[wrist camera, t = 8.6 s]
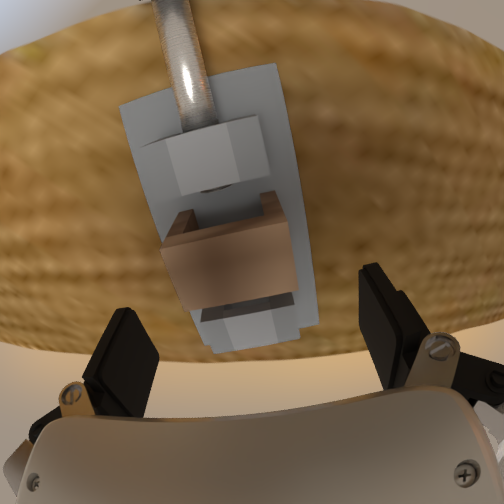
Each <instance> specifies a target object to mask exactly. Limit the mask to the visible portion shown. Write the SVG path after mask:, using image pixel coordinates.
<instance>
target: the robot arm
mask: <svg viewBox="0 0 504 504" xmlns="http://www.w3.org/2000/svg"><path fill="white" fill-rule="evenodd" d="M359 326H360V330H361V332H362V335H363V337H364V340H365V342H366V345H367V347H368V350H369V352H370V355H371V357H372V360H373V363H374V365H375V368H376V370H377V373H378V376H379V378H380V381H381V384H382V387H383V389H384V390H383V391H379V392H374V393H370V394H365V395H361V396H357V397H353V398H348V399H343V400H339V401H333V402H328V403H323V404H318V405H312V406H307V407H301V408H295V409H288V410H281V411H274V412H266V413H257V414H247V415H236V416H223V417H205V418H143V416H144V413H145V409H146V405H147V401H148V398H149V394H150V390H151V387H152V383H153V380H154V376H155V373H156V369H157V366H158V362H159V353H158V351H157V350H156V348H155V346H154V345H153V343H152V341H151V339H150V338H149V336H148V334H147V332H146V331H145V329H144V327H143V325H142V323H141V321H140V320H139V318H138V316H137V314H136V312H135V311H134V310H132V309H131V308H129V307H125V308H118V309H116V311H115V312H114V314H113V316H112V318H111V320H110V322H109V324H108V325H107V327H106V329H105V331H104V333H103V335H102V337H101V339H100V341H99V343H98V345H97V347H96V349H95V351H94V353H93V355H92V357H91V359H90V361H89V363H88V365H87V367H86V369H85V371H84V373H83V376H82V378H83V379H84V380H85V381H84V384H83V383H81V382H77V381H76V382H72V383H70V384H68V385H67V386H65V387H64V388H63V390H62V391H61V393H60V395H59V405H60V406H58V407H57V408H55V409H54V410H52V411H51V412H49V413H48V414H46V415H45V416H43V417H42V418H40V419H39V420H37V421H36V422H35V423H34V424H32V426H31V428H30V430H29V440H27V439H25V440H24V442H23V443H22V444H21V445H20V446H19V447H18V448H17V449H16V450H15V452H14V453H13V454H12V455H11V456H10V457H9V458H8V459H7V461H6V462H5V464H4V467H3V472H4V475H5V477H6V479H7V481H8V483H9V485H10V486H11V488H12V490H13V492H14V493H15V495H16V497H17V499H16V503H15V504H504V365H502V364H499V363H496V362H492V361H489V360H486V359H482V358H479V357H476V356H473V355H469V354H466V353H463V352H460V345H459V342H458V341H457V340H456V338H455V337H453V336H452V335H450V334H447V333H444V332H436V333H432V334H431V333H430V331H429V330H428V328H427V326H426V325H425V323H424V322H423V320H422V318H421V317H420V315H419V314H418V312H417V311H416V309H415V308H414V306H413V305H412V303H411V302H410V300H409V299H408V297H407V296H406V294H405V293H404V292H403V291H402V290H399V291H396V289H395V288H394V286H393V285H392V283H391V282H390V280H389V279H388V277H387V276H386V274H385V273H384V271H383V270H382V268H381V267H380V266H379V264H378V263H377V262H376V263H371V264H366V265H363V269H361V270H359ZM483 425H484V426H485V427H487V428H488V429H490V430H489V433H490V434H492V435H493V436H494V437H495V438H496V439H497V442H498V445H499V446H498V452H497V454H496V456H495V453H494V450H493V448H492V445H491V443H490V441H489V438H488V436H487V434H486V431H485V429H484V427H483ZM456 467H457V468H456Z"/></svg>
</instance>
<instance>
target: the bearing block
mask: <svg viewBox="0 0 504 504" xmlns="http://www.w3.org/2000/svg"><path fill="white" fill-rule="evenodd" d="M208 81H209V85H210V89H211V94H212V98H213V102H214V106H215V110H216V114H217V118H218V122H219V124H216V125H212V126H208V127H205V128H201V129H197V130H193V131H190V132H186V133H183V131H182V127H181V123H180V119H179V115H178V112H177V108H176V104H175V100H174V96H173V92H172V88H168V89H164V90H161V91H158V92H156V93H153V94H150V95H147V96H144V97H141V98H139V99H136V100H133V101H131V102H128V103H126V104H123V105H121V106H119V109H120V113H121V117H122V121H123V124H124V128H125V132H126V135H127V139H128V142H129V146H130V149H131V152H132V156H133V159H134V162H135V166H136V169H137V172H138V175H139V178H140V181H141V184H142V188H143V191H144V194H145V197H146V200H147V203H148V205H149V208H150V211H151V214H152V217H153V220H154V223H155V225H156V228H157V231H158V234H159V236H160V239H161V242H162V243H163V241H164V239H165V237H166V235H167V234H168V232H169V230H170V228H171V226H172V224H173V222H174V220H175V218H176V217H177V215H178V213H179V212H182V211H186V210H190V209H193V210H194V213H195V216H196V220H197V223H198V226H199V229H205V228H209V227H213V226H218V225H222V224H227V223H231V222H236V221H240V220H245V219H250V218H254V217H259V216H264V212H263V208H262V203H261V198H260V193H264V192H269V191H274V190H275V192H276V194H277V197H278V199H279V202H280V204H281V206H282V209H283V211H284V214H285V216H286V219H287V221H288V227H289V232H290V238H291V244H292V250H293V256H294V262H295V268H296V274H297V281H298V287H299V290H297V291H292V292H287V293H283V294H278V295H273V296H268V297H263V298H258V299H253V300H248V301H242V302H237V303H232V304H226V305H221V306H215V307H210V308H204V309H198V310H192V311H190V314H191V316H192V318H193V321H194V323H195V325H196V327H197V330H198V332H199V334H200V336H201V338H202V341H203V343H204V345H210V346H211V348H212V351H213V353H214V354H216V353H223V352H230V351H236V350H242V349H248V348H254V347H259V346H265V345H270V344H275V343H280V342H285V341H290V340H295V339H300V333H299V329H300V328H304V327H309V326H313V325H318V324H319V315H318V306H317V297H316V288H315V279H314V271H313V263H312V256H311V248H310V241H309V234H308V227H307V221H306V214H305V208H304V201H303V195H302V189H301V183H300V177H299V172H298V166H297V161H296V155H295V150H294V145H293V139H292V134H291V129H290V124H289V119H288V115H287V110H286V105H285V100H284V96H283V91H282V87H281V82H280V78H279V74H278V70H277V65H276V63H272V64H266V65H260V66H254V67H249V68H244V69H239V70H234V71H230V72H225V73H221V74H217V75H213V76H209V77H208ZM229 184H232V185H231V186H229V187H227V188H225V189H222V190H219V191H215V192H211V193H200V191H204V190H208V189H212V188H216V187H220V186H224V185H229Z"/></svg>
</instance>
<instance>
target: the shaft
mask: <svg viewBox="0 0 504 504" xmlns="http://www.w3.org/2000/svg"><path fill="white" fill-rule="evenodd" d="M140 1H141V0H140ZM151 1H152V6H153V11H154V15H155V20H156V25H157V29H158V33H159V38H160V42H161V47H162V51H163V55H164V59H165V63H166V68H167V72H168V76H169V80H170V84H171V88H172V92H173V96H174V100H175V104H176V108H177V112H178V115H179V119H180V123H181V127H182V131H183V133H186V132H190V131H193V130H197V129H201V128H205V127H208V126H212V125H216V124H219V122H218V118H217V114H216V110H215V106H214V102H213V98H212V94H211V89H210V85H209V81H208V77H207V73H206V69H205V65H204V61H203V57H202V53H201V49H200V45H199V41H198V37H197V33H196V29H195V24H194V20H193V16H192V12H191V8H190V4H189V0H151ZM231 185H232V184H229V185H224V186H220V187H216V188H212V189H208V190H204V191H200V193H211V192H215V191H219V190H222V189H225V188H227V187H229V186H231Z"/></svg>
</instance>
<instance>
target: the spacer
mask: <svg viewBox="0 0 504 504" xmlns="http://www.w3.org/2000/svg"><path fill="white" fill-rule="evenodd" d="M260 198H261V203H262V208H263V212H264V216H259V217H254V218H250V219H245V220H240V221H236V222H231V223H227V224H222V225H218V226H213V227H209V228H205V229H199V226H198V223H197V220H196V216H195V213H194V210H193V209H190V210H186V211H182V212H179V213H178V215H177V217H176V218H175V220H174V222H173V224H172V226H171V228H170V230H169V232H168V234H167V235H166V237H165V239H164V241H163V243H162V245H161V247H160V249H159V250H160V253H161V256H162V258H163V261H164V263H165V266H166V268H167V271H168V273H169V276H170V278H171V281H172V283H173V285H174V288H175V290H176V293H177V295H178V297H179V300H180V302H181V304H182V307H183V309H184V311H185V312H187V311H192V310H198V309H204V308H210V307H215V306H221V305H226V304H232V303H237V302H242V301H248V300H253V299H258V298H263V297H268V296H273V295H278V294H283V293H287V292H292V291H297V290H299V287H298V281H297V274H296V268H295V262H294V256H293V250H292V244H291V238H290V232H289V227H288V221H287V219H286V216H285V214H284V211H283V209H282V206H281V204H280V202H279V199H278V197H277V194H276V192H275V190H274V191H269V192H264V193H260Z"/></svg>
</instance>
